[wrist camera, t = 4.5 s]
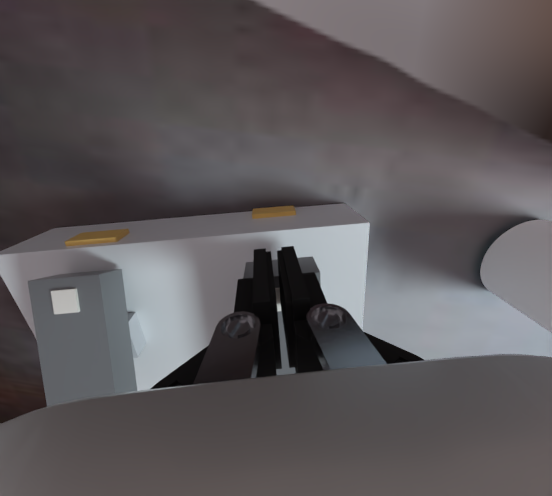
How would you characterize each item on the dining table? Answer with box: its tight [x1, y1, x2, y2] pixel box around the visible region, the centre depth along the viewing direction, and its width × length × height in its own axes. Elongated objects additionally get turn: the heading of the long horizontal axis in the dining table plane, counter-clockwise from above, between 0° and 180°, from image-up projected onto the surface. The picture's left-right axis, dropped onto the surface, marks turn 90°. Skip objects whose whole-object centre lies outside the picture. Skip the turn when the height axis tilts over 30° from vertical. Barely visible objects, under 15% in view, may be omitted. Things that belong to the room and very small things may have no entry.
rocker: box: [28, 269, 137, 407], centre depth 14 cm, size 4×10×2 cm, turn 4°
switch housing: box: [0, 203, 370, 391], centre depth 19 cm, size 22×12×6 cm, turn 94°
